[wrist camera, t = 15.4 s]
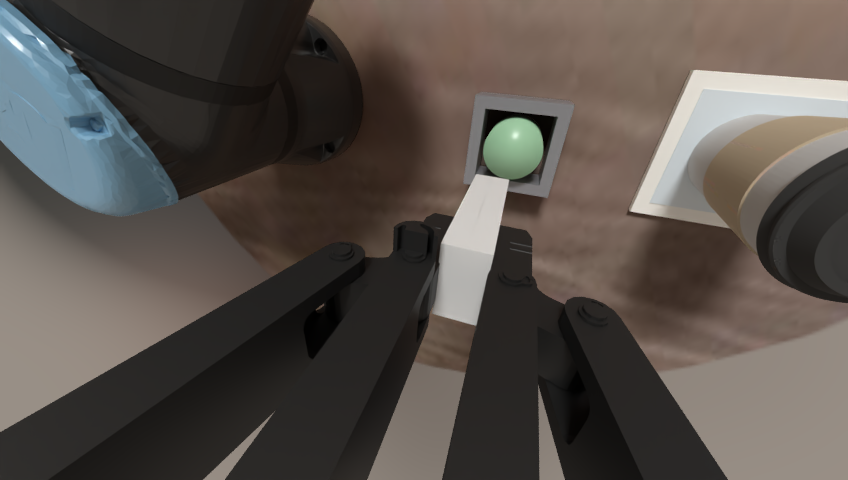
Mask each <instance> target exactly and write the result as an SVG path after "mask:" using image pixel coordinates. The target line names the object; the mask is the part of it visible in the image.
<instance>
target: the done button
mask: <svg viewBox="0 0 848 480" xmlns="http://www.w3.org/2000/svg"><path fill="white" fill-rule="evenodd" d="M542 155H543V138H542V132H541V129H540V127H539V125H538V124H537V122H536V121H535V120H533V119H532V118H530V117H528V116H526V115H522V114H513V115H509V116H506V117H505V118H503V119H501V120H500V121H499V122H498V123H497V124H496V125H495V126H494V127H493V129H492V130H491V132H490V133H489V135H488V136H487V138H486V140H485V143H484V148H483V156H484V160H485V163H486V165H487V167H488V168H489V169H490V171H491V172H492V173H494V174H495V175H497V176H499V177H501V178H504V179H519V178H522V177H524V176H526V175H528V174H530V173H531V172H532V171H533V170H534V169H535V168H536V167H537V166H538V164H539V163H540V161H541V158H542Z"/></svg>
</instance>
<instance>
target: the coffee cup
mask: <svg viewBox="0 0 848 480" xmlns="http://www.w3.org/2000/svg"><path fill="white" fill-rule="evenodd" d="M688 176H689V179H690V181H691V182H692V184H693V185H694V186H695V187H696V188H697V189H698V190H699V191H700V192H701V194H702V195H703V196H704V197H705V199H706V201H707V202H708V204H709V205H710V206H711V208H712V209H713V210H714V211H715V212H716V213H717V214H718V215H719V216H720V217H721V219H722V220H723V221H724V222H725V223H726V224H727V225H728V226H729V227H730V228H731V230H732V231H733V232H734V233H735V234H736V235H737V236H738V237H739V238H740V239H741V241H742V242H743V243H744V244H745V245H746V246H747V247H748V248H749V249H750V250H751V251H752V252H753V253H755V254H756V255H758V256H759V259H760V261H761V263H762V265H763V266H764V268H765V269H766V270H767V271H768V272H769V273H770V274H771V275H772V276H773V277H774V278H776V279H777V280H778V281H780V282H781V283H783V284H785V285H787V286H789V287H791V288H794V289H796V290H798V291H800V292H802V293H805V294H807V295H810V296H813V297H816V298H820V299H824V300H829V301H835V302H842V303H848V118H838V117H821V116H781V115H768V114H754V115H747V116H743V117H739V118H736V119H733V120H730V121H728V122H726V123H724V124H722V125H720V126H718V127H717V128H715V129H713V130H712V131H711V132H709V133H708V134H707V135H706V136H705V137H703V138H702V139H701V141H700V142H699V143H698V144H697V145H696V147H695V148H694V150H693V151H692V153H691V155H690V158H689V161H688Z"/></svg>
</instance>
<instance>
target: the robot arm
mask: <svg viewBox="0 0 848 480" xmlns="http://www.w3.org/2000/svg"><path fill="white" fill-rule="evenodd" d="M313 2H314V0H0V140H1V141H2V142H3V143H4V144H5V145H6V147H8V148H9V149H10V151H11V152H12V153H13V154H14V155H16V157H17V158H19V160H21V161H22V162H23V163H24V164H25V165H26V166H27V167H28V168H29V169H30V170H31V171H33V172H34V173H35V174H36V175H37V176H38V177H40V178H41V179H42V180H43V181H44V182H45V183H47V184H48V185H49V186H51V187H52V188H53V189H55V190H56V191H57V192H59V193H60V194H62V195H63V196H65V197H66V198H68V199H69V200H71V201H73V202H74V203H76V204H78V205H80V206H82V207H84V208H87V209H89V210H92V211H95V212H100V213H103V214H107V215H113V216H128V215H133V214H137V213H141V212H144V211H148V210H152V209H156V208H160V207H163V206H170V205H173V204H176V203H177V202H178V200H180V199H183V198H185V197H188V196H191V195H193V194H196V193H199V192H201V191H204V190H206V189H209V188H212V187H214V186H217V185H219V184H222V183H225V182H227V181H230V180H232V179H235V178H238V177H240V176H243V175H245V174H248V173H251V172H253V171H256V170H258V169H261V168H264V167H266V166H268V165H271V164H274V163H281V164H297V165H314V164H319V163H322V162H325V161H327V160H330V159H332V158H334V157H336V156H338V155H340V154H341V153H342V152H344V151H345V150H346V149H347V148H348V147H349V145H350V144H351V143H352V141H353V140H354V138H355V136H356V134H357V132H358V129H359V126H360V122H361V117H362V107H363V101H362V90H361V84H360V80H359V76H358V73H357V70H356V67H355V65H354V62H353V60H352V58H351V56H350V54H349V52H348V51H347V49H346V47H345V46H344V44H343V43H342V42H341V40H340V39H339V38H338V37H337V35H336V34H335V33H334V32H333V31H332V30H331V29H330V28H329V27H327V26H326V25H325V24H324V23H322V22H321V21H319V20H318V19H316V18H314V17H312V16H310V15H308V13H309V11H310V9H311V6H312V4H313ZM508 183H509V179H503V178H497V177H491V176H485V175H479V174H476V176H475V177H474V179H473V181H472V183H471V185H470V187H469V189H468V191H467V193H466V195H465V197H464V199H463V201H462V203H461V205H460V207H459V209H458V211H457V213H456V215H455V217H452V216H447V215H442V214H437V213H434V214H432V215H430V216H428V217H426V219H425V220H424V222H421V221H405V222H402V223H399V224H397V225H396V226H395V227H394V240H393V252H392V253H391V255H390V256H389V257H386V258H370V257H365V251H364V250H363V248H362V247H361V246H359V245H357V244H354V243H350V242H339V243H333V244H330V245H328V246H325V247H324V248H322V249H320V250H318V251H317V252H315V253H313V254H311V255H310V256H308V257H306V258H304V259H303V260H301V261H299V262H297V263H296V264H294V265H292V266H290V267H289V268H287V269H285V270H283V271H282V272H280V273H278V274H276V275H275V276H273V277H271V278H269V279H268V280H266V281H264V282H262V283H261V284H259V285H257V286H255V287H254V288H252V289H250V290H248V291H247V292H245V293H243V294H241V295H240V296H238V297H236V298H234V299H233V300H231V301H229V302H227V303H226V304H224V305H222V306H220V307H219V308H217V309H215V310H213V311H212V312H210V313H208V314H206V315H205V316H203V317H201V318H199V319H198V320H196V321H194V322H192V323H191V324H189V325H187V326H185V327H184V328H182V329H180V330H178V331H177V332H175V333H173V334H171V335H170V336H168V337H166V338H164V339H163V340H161V341H159V342H157V343H156V344H154V345H152V346H150V347H149V348H147V349H145V350H143V351H142V352H140V353H138V354H137V355H135V356H133V357H131V358H129V359H128V360H126V361H124V362H122V363H121V364H119V365H117V366H115V367H114V368H112V369H110V370H108V371H107V372H105V373H103V374H101V375H100V376H98V377H96V378H94V379H93V380H91V381H89V382H87V383H86V384H84V385H82V386H80V387H79V388H77V389H75V390H73V391H72V392H70V393H68V394H66V395H65V396H63V397H61V398H59V399H58V400H56V401H54V402H52V403H51V404H49V405H47V406H45V407H44V408H42V409H40V410H38V411H37V412H35V413H33V414H31V415H30V416H28V417H26V418H24V419H23V420H21V421H19V422H17V423H16V424H14V425H12V426H10V427H9V428H7V429H5V430H4V431H2V432H0V480H203V479H204V478H205V477H206V476H207V475H208V474H209V473H210V472H211V471H212V470H214V469H215V468H216V467H217V466H218V465H219V464H220V463H221V462H222V461H223V460H224V459H225V458H226V457H227V456H228V455H229V454H230V453H231V452H232V451H234V450H235V448H237V447H238V446H239V445H240V444H241V443H242V442H243V441H244V440H245V439H246V438H247V437H248V436H249V435H250V434H251V433H252V432H253V431H254V430H256V429H257V428H258V427H259V426H260V425H261V424H262V423H263V422H264V421H265V420H266V419H267V418H268V417H269V416H270V415H271V414H272V413H273V412H274V411H275V412H274V414H273V415H272V416H271V418H270V419H269V420H268V422H267V423H266V424H265V426H264V427H263V428H262V430H261V431H260V432H259V434H258V435H257V437H256V438H255V439H254V441H253V442H252V444H251V445H250V446H249V447H248V449H247V450H246V452H245V453H244V454H243V456H242V457H241V458H240V460H239V461H238V462H237V464H236V465H235V466H234V468H233V469H232V471H231V472H230V473H229V475H228V476H227V477H226V479H225V480H367V479H368V476H369V474H370V471H371V468H372V466H373V463H374V461H375V458H376V456H377V453H378V451H379V448H380V446H381V443H382V441H383V438H384V435H385V433H386V431H387V428H388V425H389V423H390V420H391V418H392V415H393V413H394V410H395V408H396V405H397V403H398V400H399V398H400V395H401V392H402V390H403V387H404V385H405V382H406V380H407V377H408V375H409V372H410V370H411V367H412V365H413V362H414V360H415V357H416V355H417V352H418V350H419V347H420V345H421V342H422V340H423V337H424V334H425V332H426V329H427V327H428V322H429V314H430V311H431V309H432V306H433V312H432V314H435V315H439V316H443V317H446V318H450V319H454V320H457V321H461V322H464V323H468V324H472V325H475V326H476V329H475V333H474V338H473V342H472V346H471V351H470V356H469V360H468V365H467V369H466V374H465V379H464V383H463V388H462V392H461V397H460V401H459V406H458V410H457V415H456V419H455V424H454V428H453V433H452V437H451V442H450V446H449V451H448V455H447V460H446V464H445V469H444V474H443V478H442V480H539V427H538V426H539V419H538V418H539V417H538V385H539V388H540V392H541V396H542V399H543V403H544V406H545V410H546V413H547V417H548V421H549V424H550V428H551V431H552V435H553V439H554V442H555V446H556V449H557V453H558V456H559V460H560V463H561V467H562V470H563V474H564V477H565V480H728V479H727V478H726V476H725V475H724V473H723V472H722V470H721V469H720V467H719V466H718V464H717V462H716V461H715V459H714V458H713V457H712V455H711V454H710V452H709V450H708V449H707V447H706V446H705V444H704V443H703V441H702V440H701V439H700V437H699V436H698V434H697V432H696V431H695V429H694V428H693V426H692V425H691V423H690V422H689V420H688V419H687V418H686V416H685V414H684V413H683V411H682V410H681V409H680V407H679V405H678V404H677V402H676V401H675V399H674V398H673V396H672V395H671V393H670V392H669V390H668V389H667V387H666V386H665V384H664V383H663V381H662V380H661V378H660V377H659V375H658V374H657V372H656V371H655V369H654V368H653V366H652V365H651V363H650V362H649V360H648V359H647V357H646V356H645V354H644V353H643V351H642V350H641V348H640V347H639V345H638V344H637V342H636V341H635V339H634V338H633V336H632V334H631V333H630V331H629V330H628V328H627V327H626V325H625V324H624V322H623V321H622V319H621V318H620V317H619V316H618V315H617V314H616V312H615V311H614V310H612V309H611V308H609V307H608V306H607V305H605V304H603V303H601V302H599V301H597V300H594V299H590V298H586V297H573V298H571V299H569V300H567V302H566V303H565V304H562V303H560V302H558V301H556V300H554V299H552V298H550V297H548V296H546V295H545V294H543V293H542V292H541V291H539V289H538V288H537V284H536V281H535V279H534V277H533V276H532V238H531V236H530V235H529V233H528V232H527V231H526V230H521V229H516V228H511V227H506V226H501V225H500V222H501V218H502V213H503V208H504V203H505V198H506V193H507V188H508ZM323 303H324V306H323V307H322V308H321V309H319V310H317V311H316V309H317V308H318V307H319V306H321V305H322V304H323Z"/></svg>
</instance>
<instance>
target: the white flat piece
mask: <svg viewBox="0 0 848 480" xmlns="http://www.w3.org/2000/svg"><path fill="white" fill-rule="evenodd" d="M754 114H768V115H781V116H821V117H838V118H848V81H837V80H824V79H810V78H796V77H783V76H769V75H755V74H742V73H728V72H714V71H701V70H690V72H689V75H688V77H687V79H686V81H685V83H684V86H683V88H682V90H681V92H680V95H679V97H678V99H677V101H676V104H675V106H674V108H673V110H672V113H671V115H670V117H669V119H668V122H667V124H666V126H665V128H664V131H663V133H662V135H661V137H660V140H659V142H658V144H657V146H656V149H655V151H654V153H653V155H652V157H651V160H650V162H649V164H648V166H647V169H646V171H645V173H644V175H643V178H642V180H641V182H640V184H639V187H638V189H637V191H636V193H635V196H634V198H633V200H632V202H631V205H630V207H629V211H631V212H636V213H642V214H648V215H654V216H660V217H666V218H672V219H678V220H684V221H689V222H695V223H701V224H707V225H713V226H719V227H725V228H730V227H729V226H728V225H727V224H726V223H725V222H724V221H723V220H722V219H721V217H720V216H719V215H718V214H717V213H716V212H715V211H714V210H713V209H712V208H711V206H710V205H709V204H708V202H707V201H706V199H705V197H704V196H703V195H702V194H701V192H700V191H699V190H698V189H697V188H696V187H695V186H694V185H693V184H692V182H691V181H690V179H689V176H688V161H689V158H690V155H691V153H692V151H693V150H694V148H695V147H696V145H697V144H698V143H699V142H700V141H701V139H702V138H703V137H705V136H706V135H707V134H708V133H709V132H711V131H712V130H713V129H715V128H717V127H718V126H720V125H722V124H724V123H726V122H728V121H730V120H733V119H736V118H739V117H743V116H747V115H754Z"/></svg>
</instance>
